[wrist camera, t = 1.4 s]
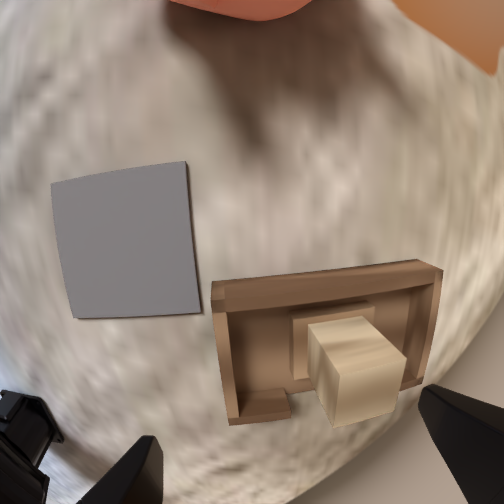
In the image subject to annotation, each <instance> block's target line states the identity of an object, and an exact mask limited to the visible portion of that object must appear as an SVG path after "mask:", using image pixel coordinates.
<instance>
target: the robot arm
mask: <svg viewBox="0 0 504 504" xmlns="http://www.w3.org/2000/svg"><path fill="white" fill-rule="evenodd" d="M0 394H1V396H2V398H1V400H0V504H46V498H47V492H48V486H49V481H50V477H48V476H47V475H46V474H44V473H42V472H41V471H40V470H39V469H38V467H39V465H40V463H41V461H42V459H43V457H44V455H45V453H46V451H47V450H48V448H49V446H50V444H51V442H57V443H63V442H64V438H63V437H62V435H61V434H60V432H59V430H58V428H57V427H56V425H55V423H54V422H53V420H52V418H51V416H50V414H49V412H48V411H47V409H46V407H45V405H44V403H43V401H42V400H41V399H40V398H39V397H36V396H30V395H25V394H20V393H15V392H11V391H7V390H2V391H1V392H0ZM418 408H419V411H420V414H421V416H422V418H423V420H424V422H425V424H426V427H427V429H428V431H429V433H430V436H431V438H432V440H433V442H434V443H435V445H436V447H437V448H438V450H439V452H440V454H441V455H442V457H443V459H444V460H445V462H446V464H447V466H448V468H449V469H450V471H451V473H452V475H453V476H454V478H455V480H456V482H457V484H458V485H459V487H460V489H461V491H462V493H463V494H464V496H465V498H466V500H467V502H468V504H504V408H501V407H498V406H495V405H492V404H489V403H485V402H483V401H480V400H477V399H474V398H471V397H468V396H465V395H463V394H460V393H457V392H454V391H451V390H449V389H446V388H443V387H441V386H438V385H435V384H431V385H428V386H426V387H424V388H423V389H422V392H421V396H420V399H419V402H418ZM162 502H163V451H162V449H161V447H160V445H159V443H158V441H157V438H156V437H155V436H152V435H143V436H141V437H140V438H139V439H138V441H137V442H136V443H135V444H134V445H133V446H132V447H131V448H130V449H129V450H128V451H127V452H126V453H125V454H124V455H123V456H122V457H121V459H120V460H119V461H118V462H117V463H116V464H115V465H114V466H113V467H112V468H111V469H110V470H109V471H108V472H107V473H106V474H105V475H104V476H103V477H102V478H101V479H100V480H99V481H98V482H97V483H96V484H95V485H94V486H93V487H92V488H91V489H90V490H89V491H88V492H87V493H86V494H85V495H84V496H83V497H82V498H81V500H79V501H78V502H77V503H76V504H162Z"/></svg>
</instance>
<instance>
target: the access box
mask: <svg viewBox="0 0 504 504" xmlns="http://www.w3.org/2000/svg"><path fill="white" fill-rule="evenodd" d="M442 279H443V270H442V269H439V268H437V267H435V266H432V265H430V264H427V263H425V262H423V261H420V260H418V259H413V260H405V261H398V262H390V263H382V264H374V265H366V266H357V267H349V268H340V269H331V270H322V271H313V272H304V273H295V274H285V275H275V276H265V277H255V278H244V279H234V280H222V281H212V288H211V308H212V316H213V324H214V331H215V339H216V346H217V353H218V360H219V366H220V373H221V380H222V386H223V392H224V398H225V404H226V410H227V416H228V422H229V426H231V425H242V424H251V423H260V422H268V421H275V420H282V419H288V418H291V409H290V406H289V403H288V400H287V397H286V394H291V393H297V392H303V391H309V390H314V389H315V388H314V386H313V384H312V382H311V380H310V378H309V376H308V374H307V357H308V324H315V323H322V322H328V321H334V320H340V319H346V318H352V317H358V316H363V317H364V318H365V319H366V320H367V321H368V322H369V323H370V324H371V325H373V326H374V327H375V328H376V329H377V330H378V331H379V332H380V333H381V334H382V335H383V336H384V337H385V338H386V339H387V340H388V341H389V342H390V343H391V344H392V345H393V346H394V347H395V348H397V349H398V350H399V351H400V352H401V353H402V354H403V355H404V356H405V357H406V358H407V360H406V364H405V369H404V373H403V378H402V382H401V386H400V390H399V391H402V390H405V389H408V388H411V387H414V386H417V385H419V384H422V381H423V378H424V374H425V370H426V366H427V362H428V358H429V354H430V350H431V345H432V340H433V336H434V331H435V325H436V320H437V314H438V308H439V302H440V295H441V287H442Z"/></svg>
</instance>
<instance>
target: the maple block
mask: <svg viewBox="0 0 504 504" xmlns="http://www.w3.org/2000/svg"><path fill="white" fill-rule="evenodd" d="M406 360H407V358H406V357H405V356H404V355H403V354H402V353H401V352H400V351H399V350H398V349H397V348H395V347H394V346H393V345H392V344H391V343H390V342H389V341H388V340H387V339H386V338H385V337H384V336H383V335H382V334H381V333H380V332H379V331H378V330H377V329H376V328H375V327H374V326H373V325H371V324H370V323H369V322H368V321H367V320H366V319H365V318H364V317H363V316H358V317H352V318H346V319H340V320H334V321H328V322H322V323H315V324H308V357H307V374H308V376H309V378H310V380H311V382H312V384H313V386H314V388H315V391H316V393H317V395H318V397H319V399H320V401H321V403H322V406H323V408H324V410H325V412H326V414H327V416H328V418H329V420H330V423H331V425H332V427H333V428H337V427H341V426H345V425H349V424H353V423H356V422H360V421H364V420H367V419H370V418H374V417H377V416H380V415H383V414H386V413H389V412H392V411H394V409H395V405H396V401H397V398H398V394H399V390H400V386H401V382H402V378H403V373H404V369H405V364H406Z"/></svg>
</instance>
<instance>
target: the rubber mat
mask: <svg viewBox="0 0 504 504" xmlns="http://www.w3.org/2000/svg"><path fill="white" fill-rule="evenodd" d="M51 196H52V207H53V216H54V224H55V232H56V239H57V245H58V251H59V257H60V262H61V267H62V272H63V277H64V282H65V286H66V291H67V295H68V299H69V303H70V307H71V311H72V315H73V318H103V317H131V316H151V315H168V314H183V313H197V312H201V307H200V299H199V292H198V284H197V276H196V268H195V259H194V250H193V241H192V231H191V221H190V210H189V198H188V186H187V172H186V161H181V162H173V163H164V164H157V165H149V166H142V167H136V168H129V169H123V170H117V171H111V172H105V173H100V174H94V175H89V176H84V177H79V178H74V179H70V180H65V181H61V182H56V183H52V184H51Z"/></svg>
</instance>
